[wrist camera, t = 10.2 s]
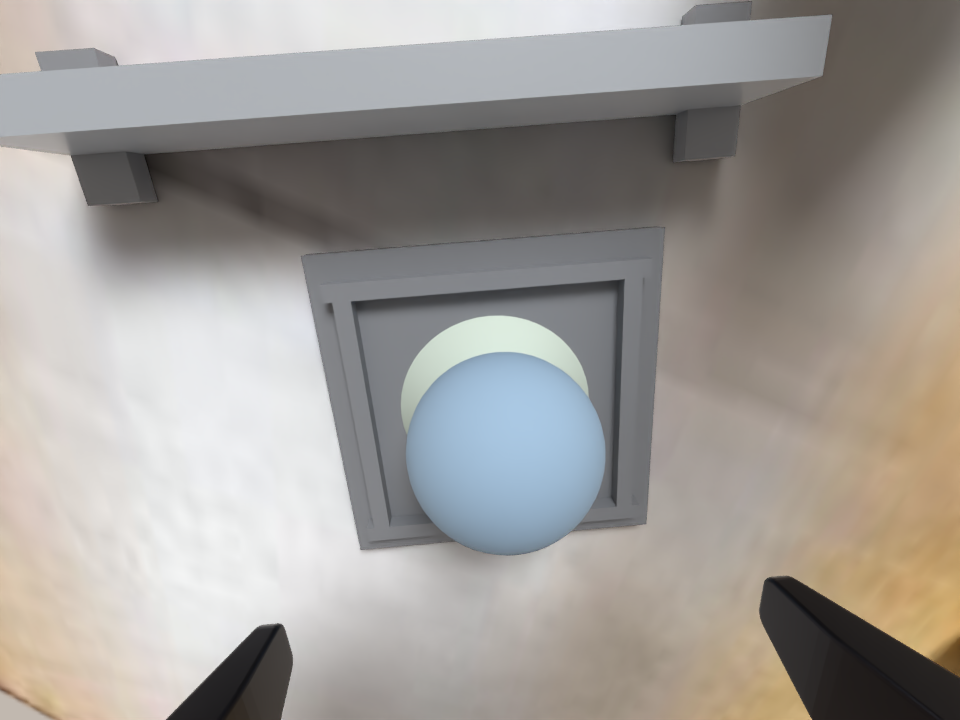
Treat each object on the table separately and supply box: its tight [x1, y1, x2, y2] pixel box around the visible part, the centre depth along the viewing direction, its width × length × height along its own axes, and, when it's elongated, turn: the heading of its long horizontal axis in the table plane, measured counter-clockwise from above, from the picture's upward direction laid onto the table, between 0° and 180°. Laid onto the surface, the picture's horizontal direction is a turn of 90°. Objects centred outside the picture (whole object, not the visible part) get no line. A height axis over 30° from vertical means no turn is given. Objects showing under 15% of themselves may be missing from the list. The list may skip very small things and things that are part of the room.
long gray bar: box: [0, 1, 832, 206], centre depth 12 cm, size 20×4×4 cm, turn 94°
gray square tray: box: [301, 227, 665, 550], centre depth 17 cm, size 12×12×1 cm
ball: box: [406, 352, 606, 555], centre depth 14 cm, size 6×6×6 cm
